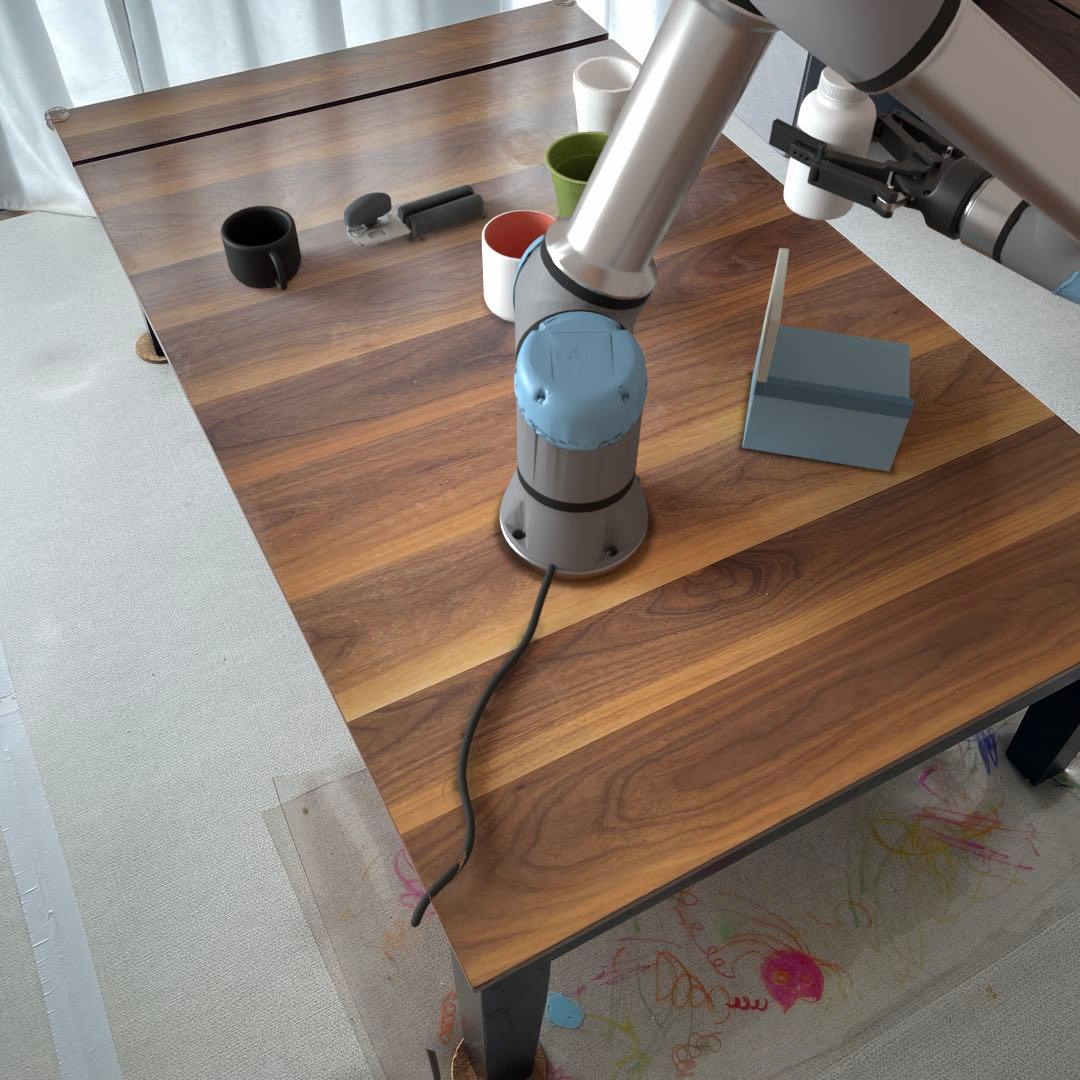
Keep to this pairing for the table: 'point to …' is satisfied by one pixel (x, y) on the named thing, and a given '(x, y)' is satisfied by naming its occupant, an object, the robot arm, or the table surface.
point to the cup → (508, 255)
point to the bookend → (826, 392)
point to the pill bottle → (829, 142)
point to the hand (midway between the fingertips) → (798, 117)
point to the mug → (262, 246)
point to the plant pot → (573, 165)
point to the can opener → (408, 215)
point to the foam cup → (602, 91)
